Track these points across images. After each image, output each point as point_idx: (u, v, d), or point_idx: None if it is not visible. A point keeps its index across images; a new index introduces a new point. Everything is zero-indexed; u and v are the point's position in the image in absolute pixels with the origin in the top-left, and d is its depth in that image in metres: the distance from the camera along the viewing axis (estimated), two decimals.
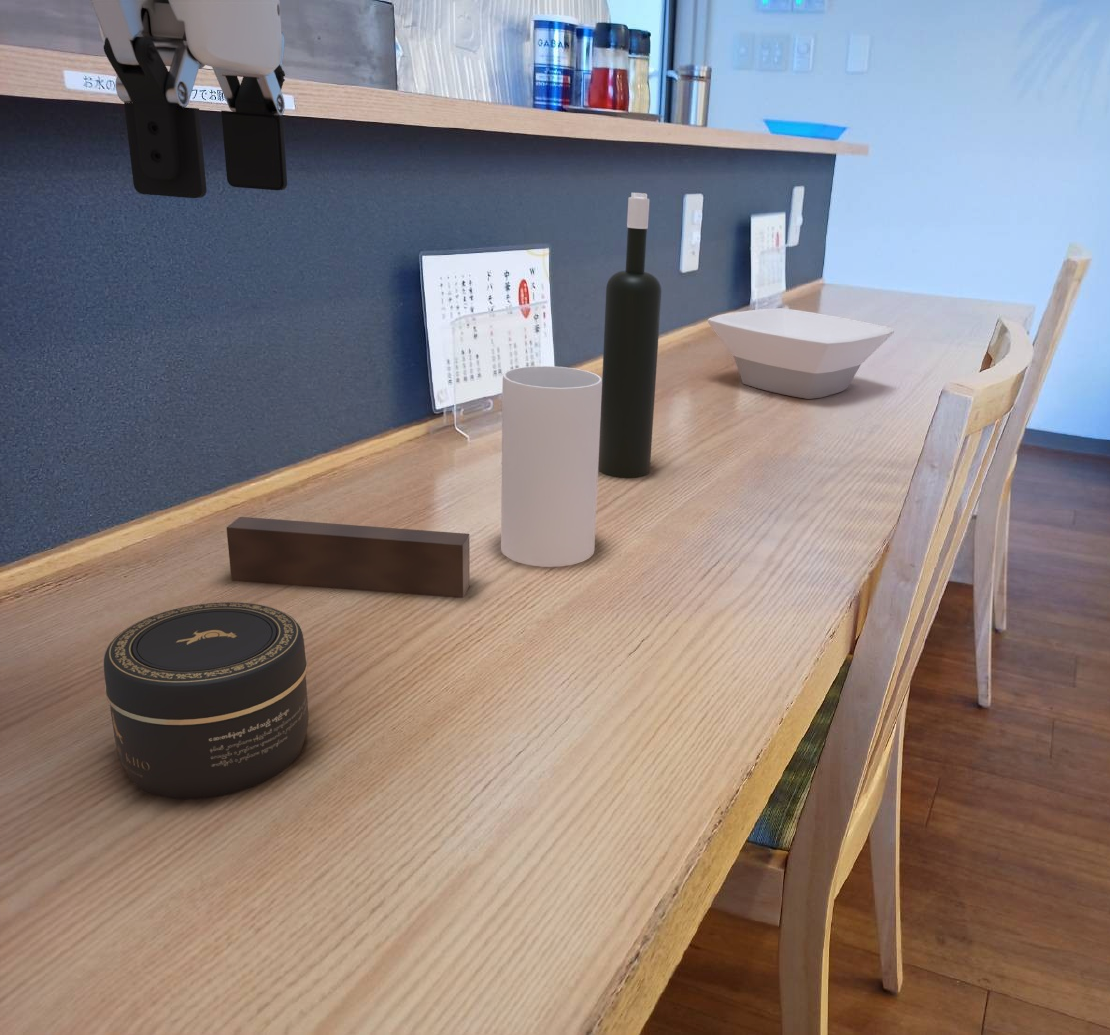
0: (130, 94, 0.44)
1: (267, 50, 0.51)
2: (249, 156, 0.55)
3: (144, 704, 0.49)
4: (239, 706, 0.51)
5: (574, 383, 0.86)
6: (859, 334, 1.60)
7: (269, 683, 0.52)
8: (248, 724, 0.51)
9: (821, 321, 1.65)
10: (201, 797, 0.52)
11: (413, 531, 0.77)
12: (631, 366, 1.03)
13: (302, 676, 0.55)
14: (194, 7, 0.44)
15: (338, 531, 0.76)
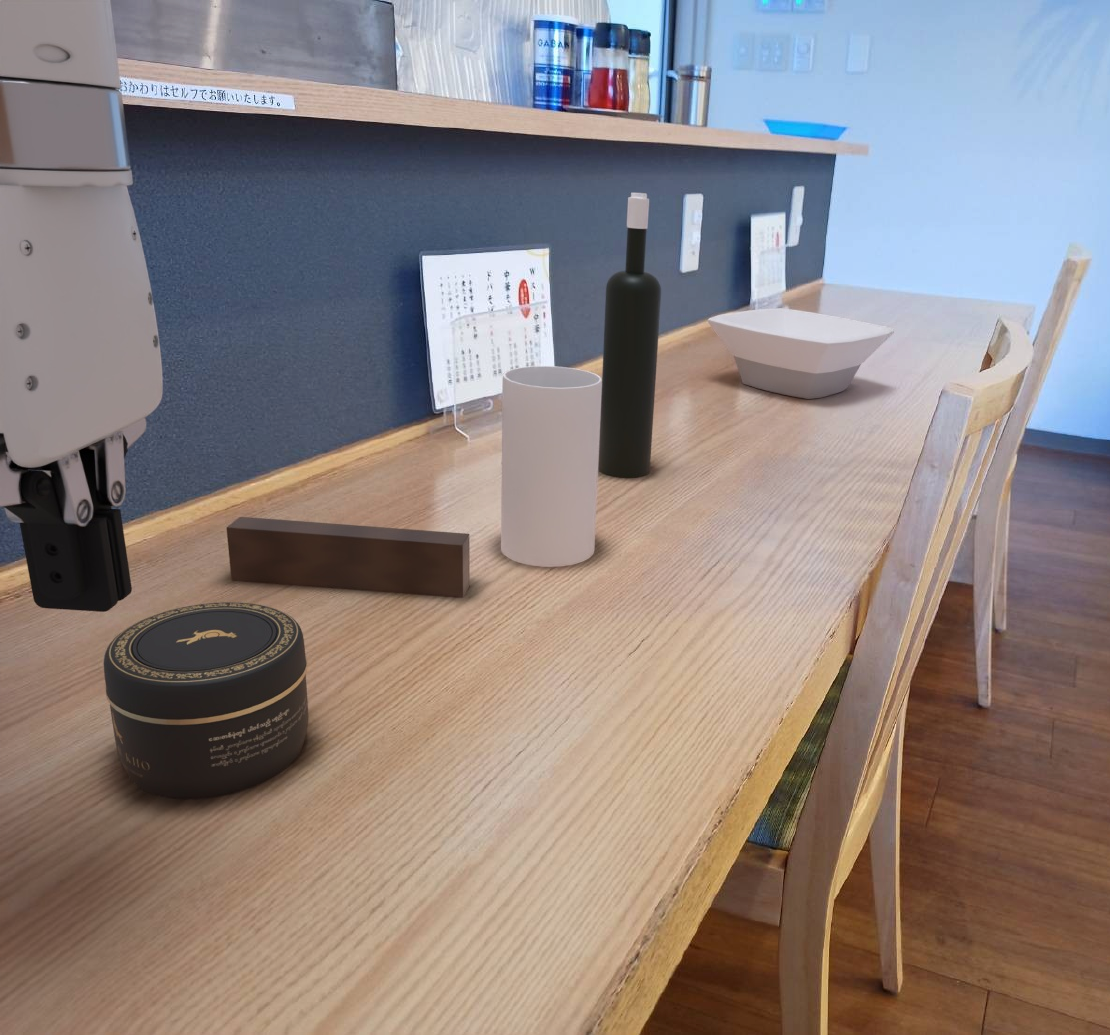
0: (22, 519, 0.38)
1: (139, 400, 0.41)
2: None
3: (144, 704, 0.49)
4: (239, 706, 0.51)
5: (574, 383, 0.86)
6: (859, 334, 1.60)
7: (269, 683, 0.52)
8: (248, 724, 0.51)
9: (821, 321, 1.65)
10: (201, 797, 0.52)
11: (413, 531, 0.77)
12: (631, 366, 1.03)
13: (302, 676, 0.55)
14: (16, 415, 0.34)
15: (338, 531, 0.76)
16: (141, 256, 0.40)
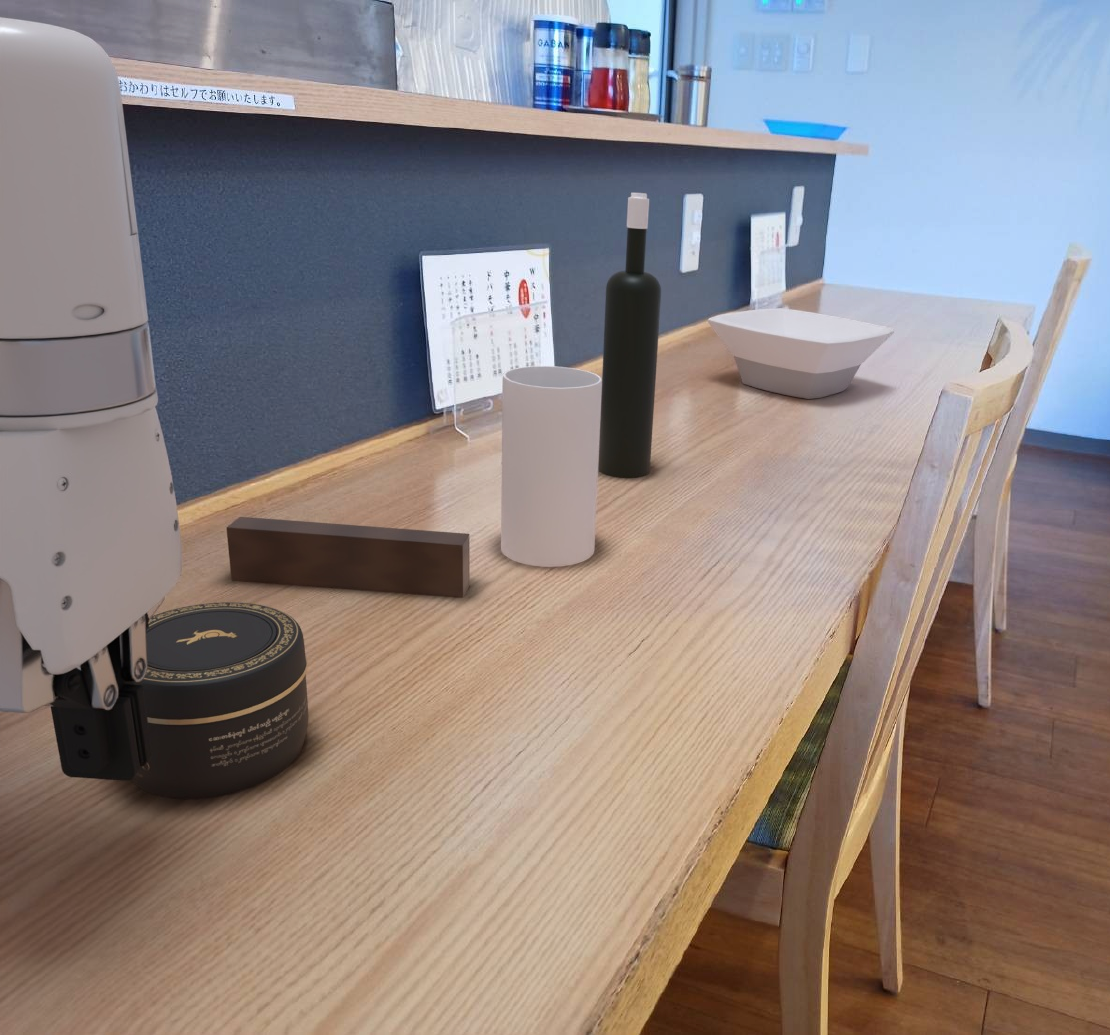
0: (53, 705, 0.41)
1: (161, 583, 0.44)
2: None
3: None
4: (239, 706, 0.51)
5: (574, 383, 0.86)
6: (859, 334, 1.60)
7: (269, 683, 0.52)
8: (248, 724, 0.51)
9: (821, 321, 1.65)
10: (201, 797, 0.52)
11: (413, 531, 0.77)
12: (631, 366, 1.03)
13: (302, 676, 0.55)
14: (52, 633, 0.37)
15: (338, 531, 0.76)
16: (163, 453, 0.43)
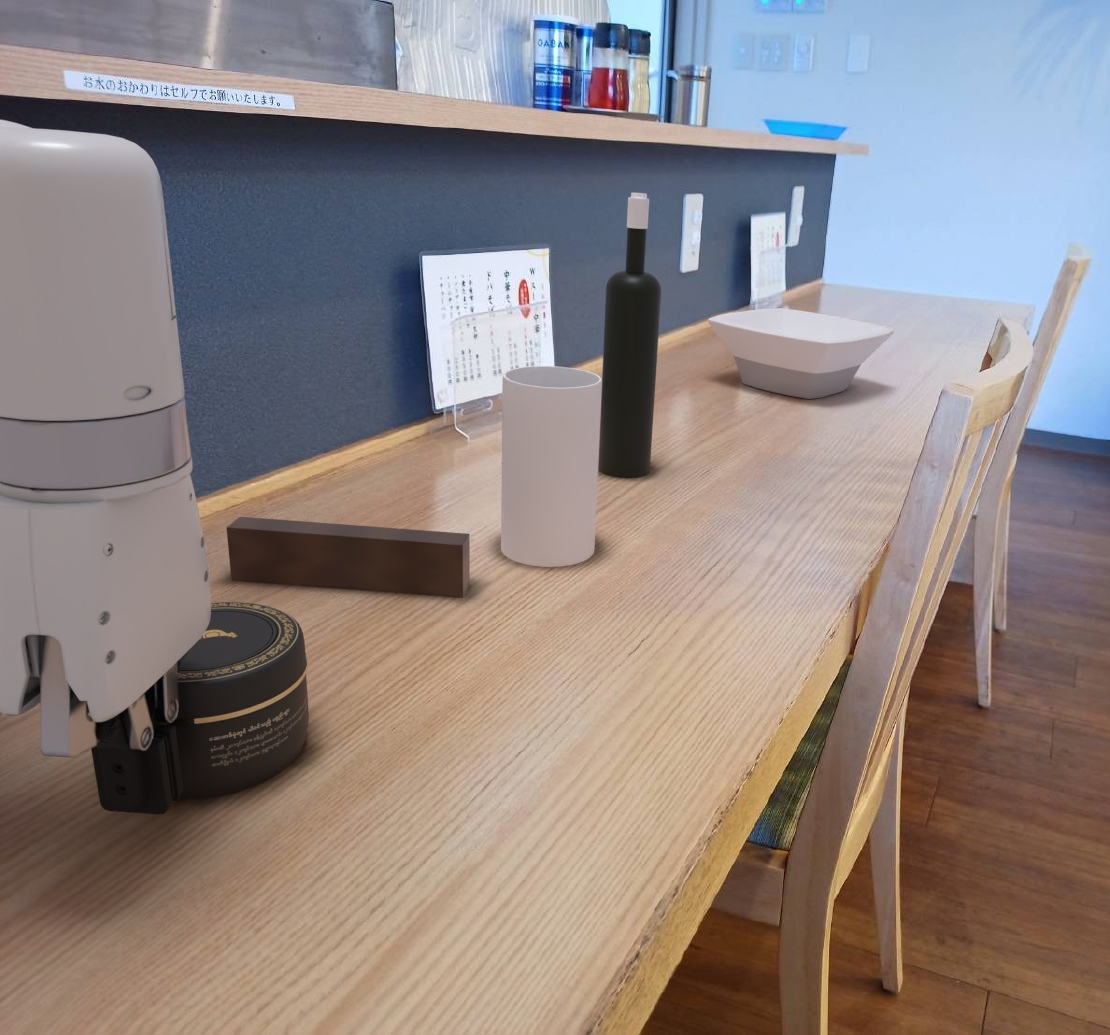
0: (94, 746, 0.45)
1: (192, 631, 0.47)
2: None
3: None
4: (240, 706, 0.51)
5: (574, 383, 0.86)
6: (859, 334, 1.60)
7: (270, 683, 0.52)
8: (248, 724, 0.51)
9: (821, 321, 1.65)
10: (201, 797, 0.52)
11: (413, 531, 0.77)
12: (631, 366, 1.03)
13: (302, 676, 0.55)
14: (97, 686, 0.40)
15: (338, 531, 0.76)
16: (195, 510, 0.47)
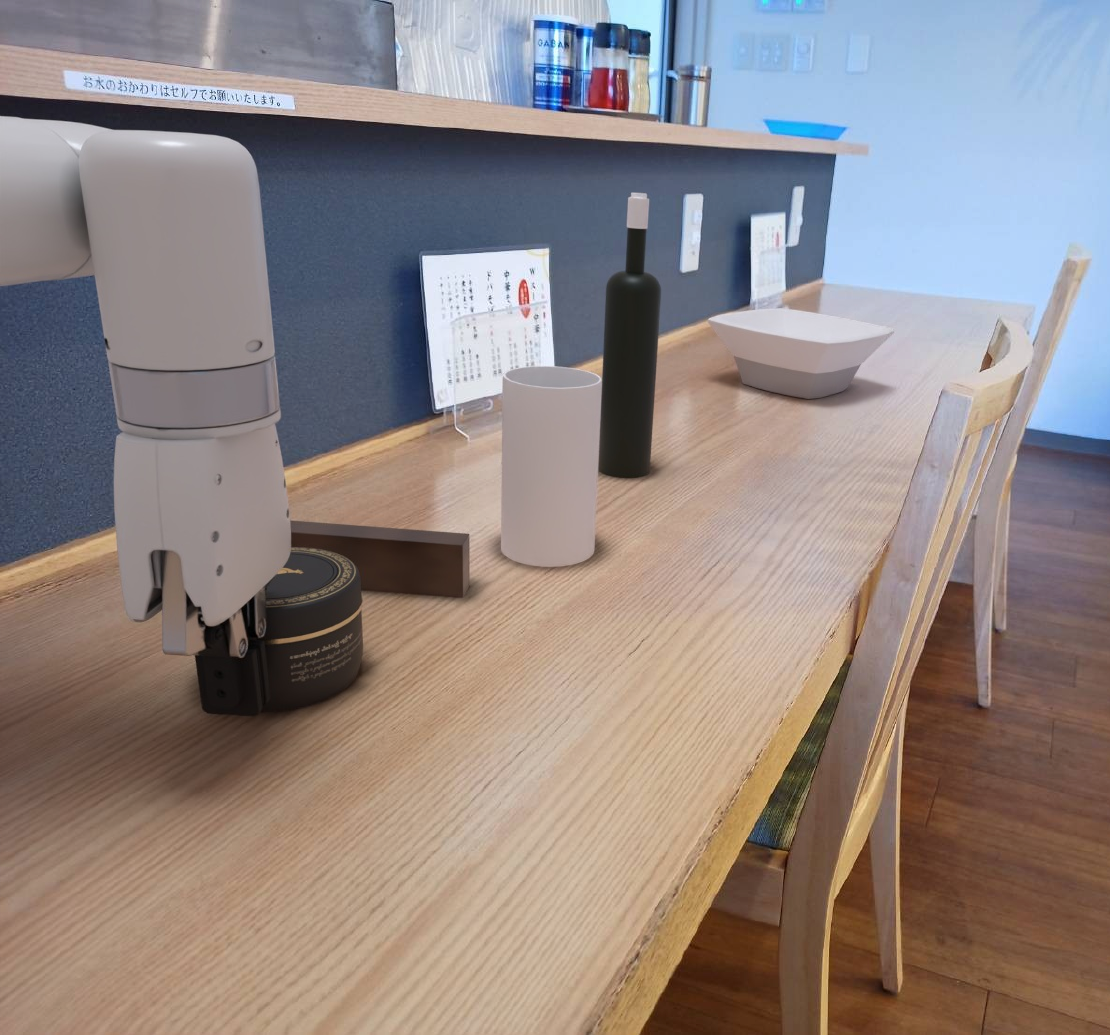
0: (199, 654, 0.53)
1: (278, 559, 0.55)
2: None
3: None
4: (315, 628, 0.59)
5: (574, 383, 0.86)
6: (859, 334, 1.60)
7: (338, 609, 0.60)
8: (321, 644, 0.60)
9: (821, 321, 1.65)
10: (281, 709, 0.60)
11: (413, 531, 0.77)
12: (631, 366, 1.03)
13: (361, 606, 0.63)
14: (209, 594, 0.48)
15: (338, 531, 0.76)
16: (280, 455, 0.55)
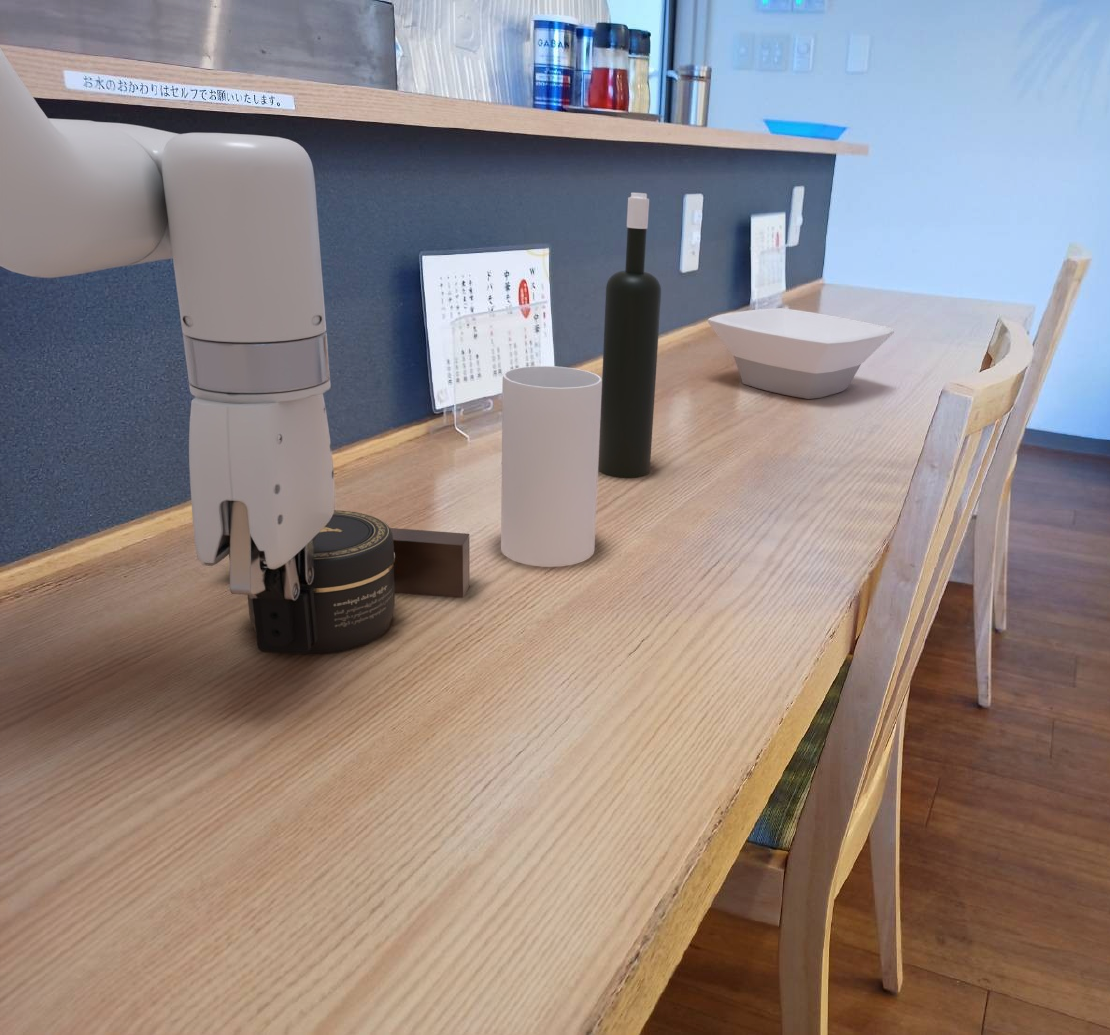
0: (258, 597, 0.60)
1: (324, 514, 0.62)
2: None
3: None
4: (356, 578, 0.66)
5: (574, 383, 0.86)
6: (859, 334, 1.60)
7: (376, 562, 0.67)
8: (361, 594, 0.67)
9: (821, 321, 1.65)
10: (325, 652, 0.67)
11: (413, 531, 0.77)
12: (631, 366, 1.03)
13: (394, 561, 0.70)
14: (271, 539, 0.55)
15: None
16: (326, 422, 0.62)
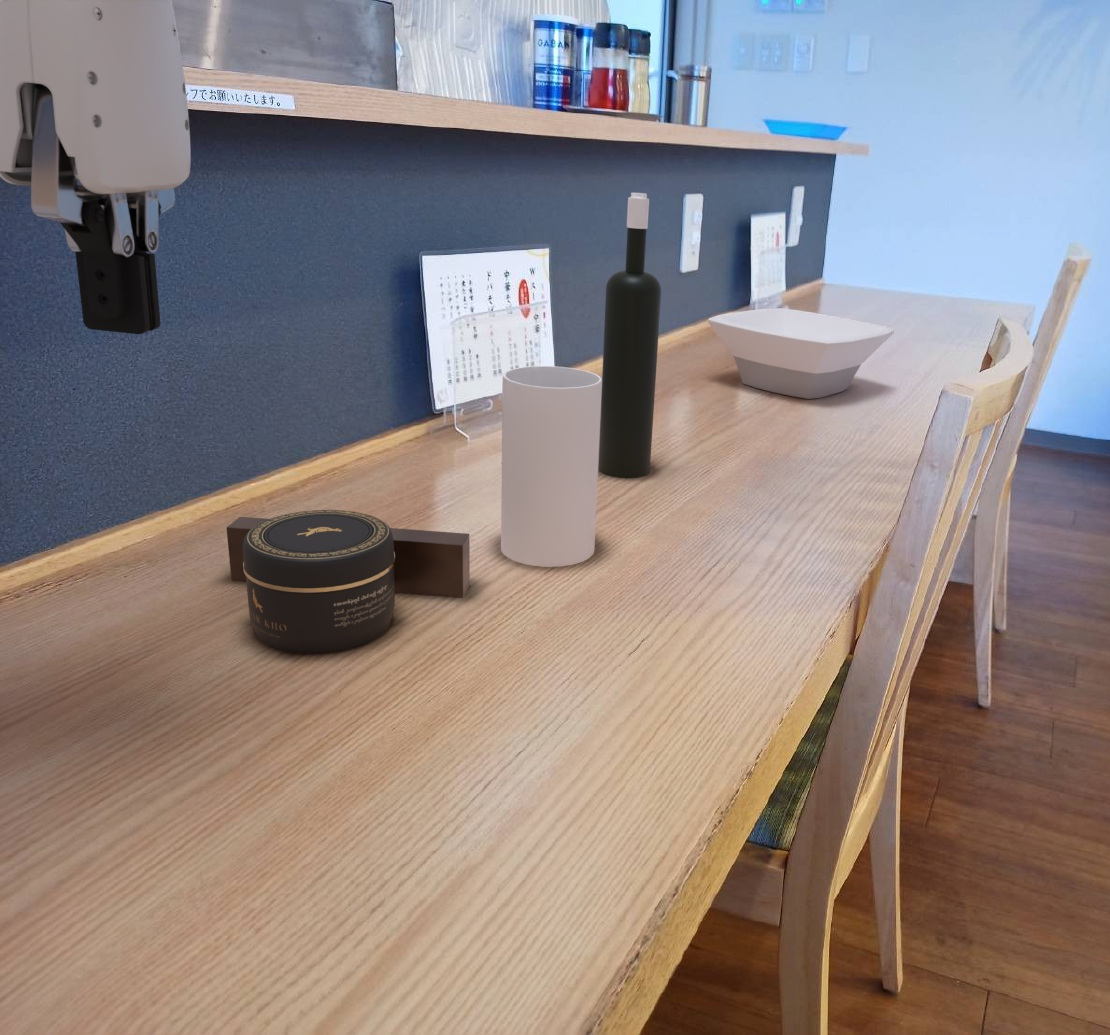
0: (79, 247, 0.49)
1: (172, 167, 0.52)
2: None
3: (285, 577, 0.64)
4: (356, 578, 0.66)
5: (574, 383, 0.86)
6: (859, 334, 1.60)
7: (376, 562, 0.67)
8: (361, 593, 0.67)
9: (821, 321, 1.65)
10: (325, 652, 0.67)
11: (413, 531, 0.77)
12: (631, 366, 1.03)
13: (394, 561, 0.70)
14: (84, 143, 0.44)
15: None
16: (178, 51, 0.51)
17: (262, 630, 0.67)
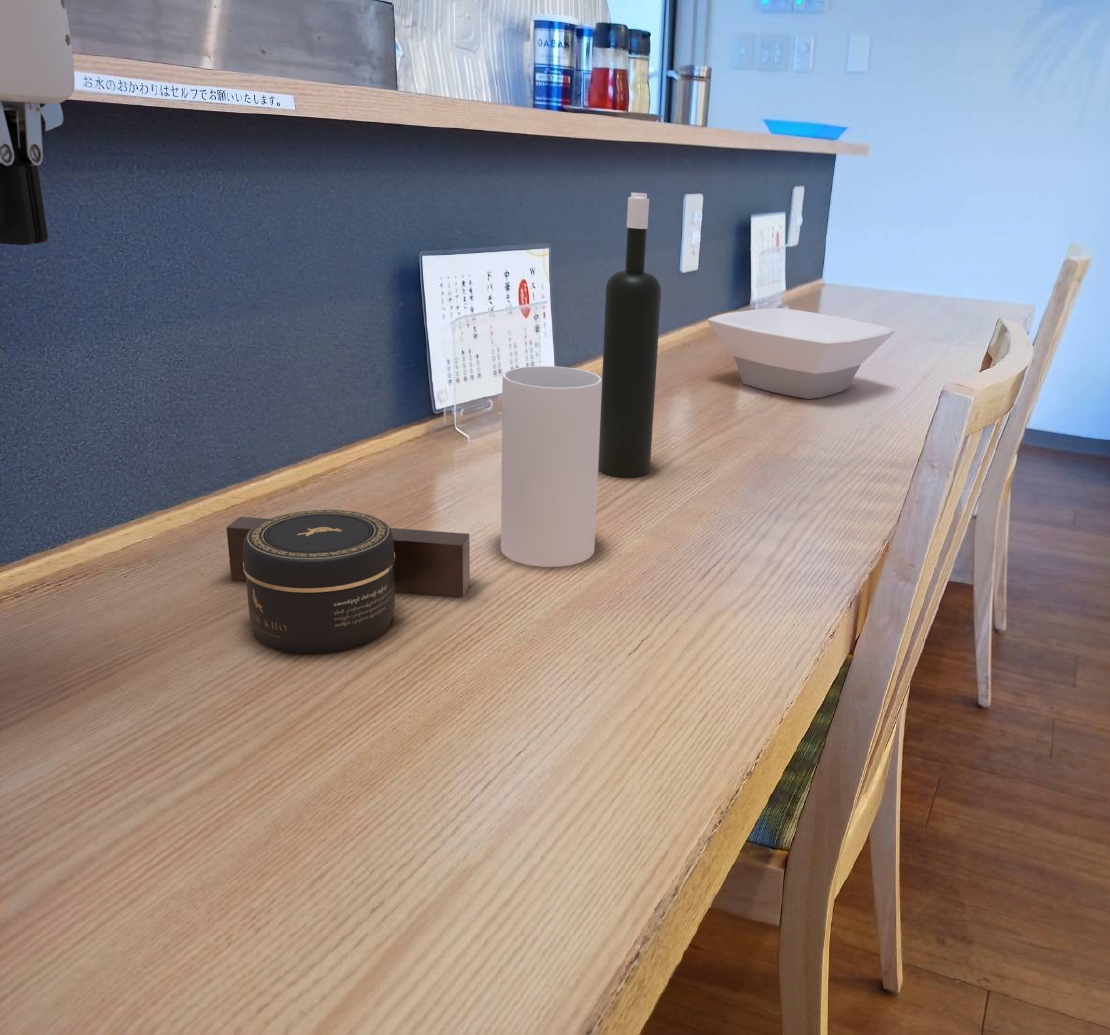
0: None
1: (53, 80, 0.52)
2: None
3: (285, 577, 0.64)
4: (356, 578, 0.66)
5: (574, 383, 0.86)
6: (859, 334, 1.60)
7: (376, 562, 0.67)
8: (361, 593, 0.67)
9: (821, 321, 1.65)
10: (325, 652, 0.67)
11: (413, 531, 0.77)
12: (631, 366, 1.03)
13: (394, 561, 0.70)
14: None
15: None
16: None
17: (262, 630, 0.67)
